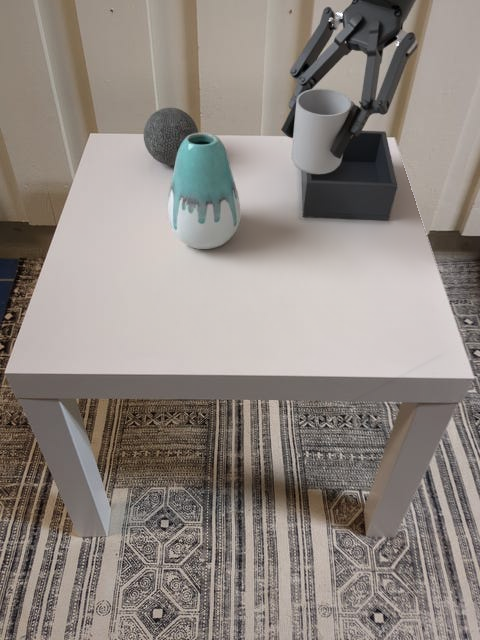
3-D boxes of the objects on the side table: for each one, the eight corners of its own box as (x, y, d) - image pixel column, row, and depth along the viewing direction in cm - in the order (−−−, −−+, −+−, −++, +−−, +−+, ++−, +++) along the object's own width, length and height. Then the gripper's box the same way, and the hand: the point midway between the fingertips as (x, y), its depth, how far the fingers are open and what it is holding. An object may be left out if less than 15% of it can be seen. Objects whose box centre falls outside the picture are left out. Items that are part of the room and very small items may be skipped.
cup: (281, 155, 82) (285, 96, 75) (336, 136, 85) (345, 79, 79) (310, 181, 78) (317, 121, 71) (366, 160, 81) (379, 101, 75)
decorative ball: (193, 142, 111) (191, 94, 104) (204, 171, 105) (202, 122, 97) (143, 149, 109) (136, 100, 102) (151, 179, 103) (145, 129, 95)
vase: (193, 204, 98) (187, 108, 85) (252, 226, 95) (256, 128, 81) (156, 243, 92) (143, 145, 78) (218, 268, 88) (215, 169, 74)
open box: (388, 220, 96) (397, 186, 91) (302, 217, 96) (306, 182, 91) (377, 164, 107) (385, 131, 102) (300, 161, 107) (304, 128, 102)
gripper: (468, 16, 73) (380, 179, 77) (336, -21, 81) (262, 128, 85) (464, -18, 66) (368, 163, 70) (320, -55, 74) (241, 109, 78)
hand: (310, 144), depth 77 cm, fingers closed on cup, 7 cm apart
